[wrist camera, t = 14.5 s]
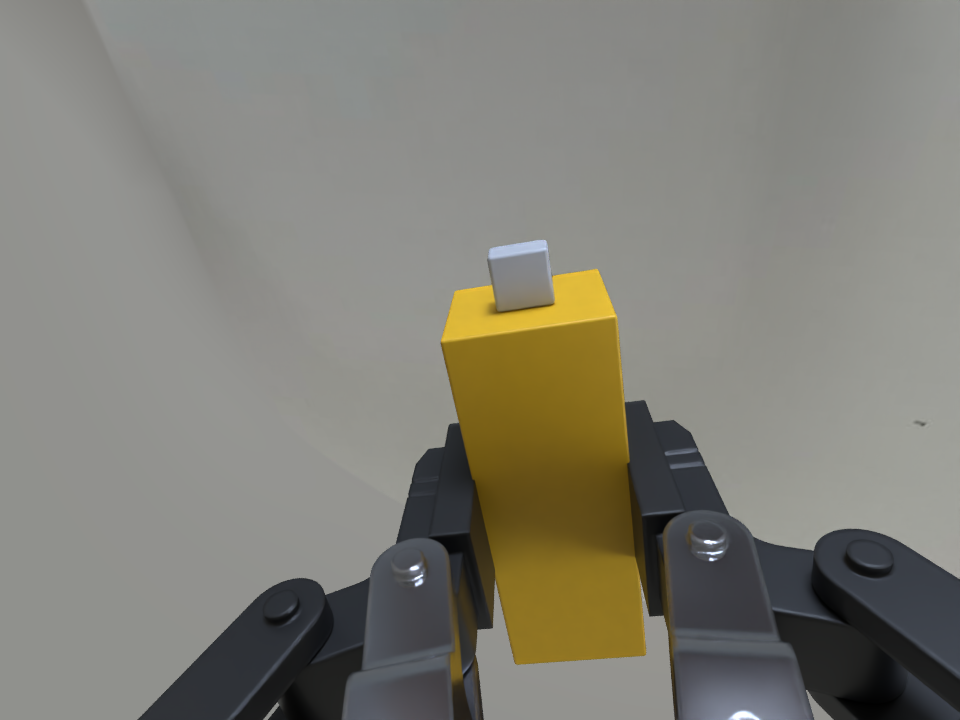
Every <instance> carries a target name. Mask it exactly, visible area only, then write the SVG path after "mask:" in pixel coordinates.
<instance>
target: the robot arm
mask: <svg viewBox="0 0 960 720" xmlns="http://www.w3.org/2000/svg"><path fill="white" fill-rule="evenodd" d="M625 412H626V424H627V436H628V447H629V459H630V462H629V463H627V468H628V480H629V491H630V503H631V514H632V526H633V537H634V549H635V558H636V563H637V567H638V571H639V575H640V579H641V583H642V587H643V592H644V596H645V600H646V604H647V608H648V612H649V616H663V615H664V618H665V622H666V626H667V630H668V636H669V653H670V666H671V679H672V691H673V704H674V716H675V720H814V717H813V713H812V710H811V706H810V703H809V699H808V696H807V693H806V690H808V692H809V693H810V694H811V696H812V697H813V699H814V700H815V701H816V702H817V703H818V704H819V705H820V706H821V707H822V708H823V709H824V710H825V711H826V712H827V713H828V714H829V715H830V716H831V717H832V718H833V719H834V720H960V579H958V578H957V577H955V576H953V575H952V574H950V573H949V572H947V571H945V570H944V569H942V568H941V567H939V566H937V565H936V564H934V563H933V562H931V561H930V560H928V559H926V558H925V557H923V556H922V555H920V554H918V553H917V552H915V551H914V550H912V549H910V548H909V547H907V546H906V545H904V544H902V543H901V542H899V541H897V540H895V539H893V538H891V537H888V536H886V535H883V534H880V533H877V532H873V531H868V530H861V529H842V530H837V531H833V532H830V533H828V534H826V535H824V536H823V537H821V538H820V539H819V540H818V542H817V543H816V545H815V549H814V551H812V550H805V549H798V548H791V547H784V546H779V545H774V544H770V543H767V542H764V541H761V540H759V539H757V538H755V537H753V536H752V534H751V532H750V531H749V529H748V528H747V527H746V526H745V525H744V524H742V523H741V522H740V521H739V520H737V519H735V518H733V517H731V516H730V515H729V513H728V511H727V509H726V507H725V505H724V503H723V501H722V498H721V496H720V494H719V492H718V490H717V488H716V486H715V484H714V482H713V479H712V477H711V475H710V473H709V471H708V469H707V467H706V466H705V464H704V460H703V458H702V456H701V454H700V452H698V448H697V446H696V443H695V441H694V439H693V437H692V435H691V433H690V432H689V431H687V430H686V429H685V428H683V427H682V426H681V425H679V424H678V423H677V422H675V421H674V420H670V421H662V422H654V423H653V420H652V418H651V415H650V413H649V410H648V407H647V405H646V402H645V401H644V400H641V401H633V402H625ZM408 495H409V498H407V501H406V505H405V509H404V513H403V517H402V521H401V525H400V529H399V534H398V537H397V541H396V544H395V545H393V546H392V547H390V548H389V549H387V550H386V551H385V552H383V553H382V554H381V555H380V556H379V558H378V559H377V560H376V562H375V563H374V565H373V567H372V570H371V575H370V577H369V578H368V579H366V580H364V581H362V582H360V583H357V584H355V585H352V586H349V587H347V588H344V589H341V590H338V591H335V592H333V593H330V594H327V595H325V593H324V590H323V588H322V587H321V585H320V584H318V583H317V582H316V581H313V580H310V579H306V578H297V579H291V580H287V581H284V582H281V583H279V584H277V585H274V586H273V587H271V588H269V589H268V590H266V591H265V592H263V593H262V594H261V595H260V596H259V597H257V599H255V600H254V601H253V603H251V604H250V606H248V607H247V609H246V610H245V611H244V612H243V613H242V614H241V615H240V616H239V617H238V618H237V619H236V620H235V621H234V622H233V623H232V624H231V625H230V626H229V627H228V628H227V629H226V630H225V631H224V632H223V633H222V634H221V635H220V636H219V637H218V638H217V639H216V640H215V641H214V642H213V643H212V644H211V645H210V646H209V647H208V648H207V649H206V650H205V651H204V652H203V653H202V654H201V655H200V656H199V658H198V659H197V660H196V661H195V662H194V663H193V664H192V665H191V666H190V667H189V668H188V669H187V670H186V671H185V672H184V673H183V674H182V675H181V676H180V677H179V678H178V679H177V680H176V681H175V682H174V683H173V684H172V685H171V686H170V687H169V688H168V689H167V690H166V691H165V692H164V693H163V694H162V695H161V697H159V698H158V700H157V701H155V703H154V704H153V705H152V706H151V707H150V708H149V709H148V710H147V711H146V712H145V713H144V714H143V715H142V716H141V717H140V718H139V719H138V720H263V719H264V718H265V717H266V715H267V714H268V713H269V712H270V710H271V709H272V708H273V707H274V705H275V704H276V703H277V702H278V704H279V707H278V708H277V709H276V711H275V712H274V713H273V714H272V716H271V717H270V718H269V719H268V720H484V718H483V709H482V699H481V690H480V680H479V671H478V663H477V659H476V655H475V652H476V642H477V630H478V629H490V628H493V609H494V585H495V567H494V563H493V558H492V554H491V550H490V545H489V541H488V536H487V532H486V528H485V523H484V519H483V514H482V510H481V506H480V501H479V497H478V492H477V488H476V484H475V480H473V479H472V476H471V472H470V468H469V464H468V459H467V455H466V451H465V446H464V442H463V438H462V433H461V429H460V425H459V423H454V424H450V425H449V427H448V432H447V438H446V443H445V447H442V448H433V449H428V450H427V452H426V453H425V454H424V455H423V456H422V458H421V459H420V460H419V461H418V462H417V464H416V466H415V470H414V474H413V477H412V484H411V485H410V489H409V493H408Z"/></svg>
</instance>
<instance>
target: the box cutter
mask: <svg viewBox="0 0 960 720" xmlns="http://www.w3.org/2000/svg"><path fill="white" fill-rule="evenodd" d="M487 261H488V266H489V272H490V277H491V283H492V285H490V286H484V287H477V288H471V289H464V290H458V291H455V292H454V296H453V299H452V303H451V307H450V310H449V314H448V317H447V321H446V325H445V328H444V332H443V336H442V339H441V347H442V351H443V355H444V360H445V364H446V368H447V373H448V377H449V381H450V386H451V390H452V394H453V399H454V403H455V407H456V412H457V416H458V420H459V425H460V429H461V433H462V438H463V442H464V446H465V451H466V455H467V459H468V464H469V468H470V472H471V476H472V479H473V480H475V484H476V488H477V492H478V497H479V501H480V506H481V510H482V514H483V519H484V523H485V528H486V532H487V536H488V541H489V545H490V550H491V554H492V558H493V563H494V567H495V580H496V584H497V588H498V593H499V597H500V602H501V606H502V610H503V615H504V619H505V623H506V628H507V632H508V636H509V640H510V645H511V649H512V653H513V657H514V662H515V664H517V665H519V664H534V663H548V662H562V661H576V660H591V659H605V658H619V657H634V656H645V655H646V645H645V632H644V621H643V609H642V598H641V586H640V575H639V571H638V567H637V563H636V558H635V549H634V537H633V526H632V514H631V503H630V491H629V480H628V468H627V463H629V462H630V459H629V447H628V436H627V424H626V412H625V401H624V389H623V378H622V366H621V355H620V343H619V331H618V320H617V316H616V313H615V311H614V308H613V306H612V303H611V301H610V298H609V296H608V293H607V290H606V288H605V285H604V283H603V280H602V278H601V275H600V273H599V271H598V270H597V269H594V270H587V271H581V272H574V273H568V274H561V275H555V276H552V274H551V266H550V259H549V251H548V245H547V242H546V240H537V241H531V242H525V243H519V244H512V245H506V246H500V247H494V248H491V249H489V254H488V260H487Z"/></svg>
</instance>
